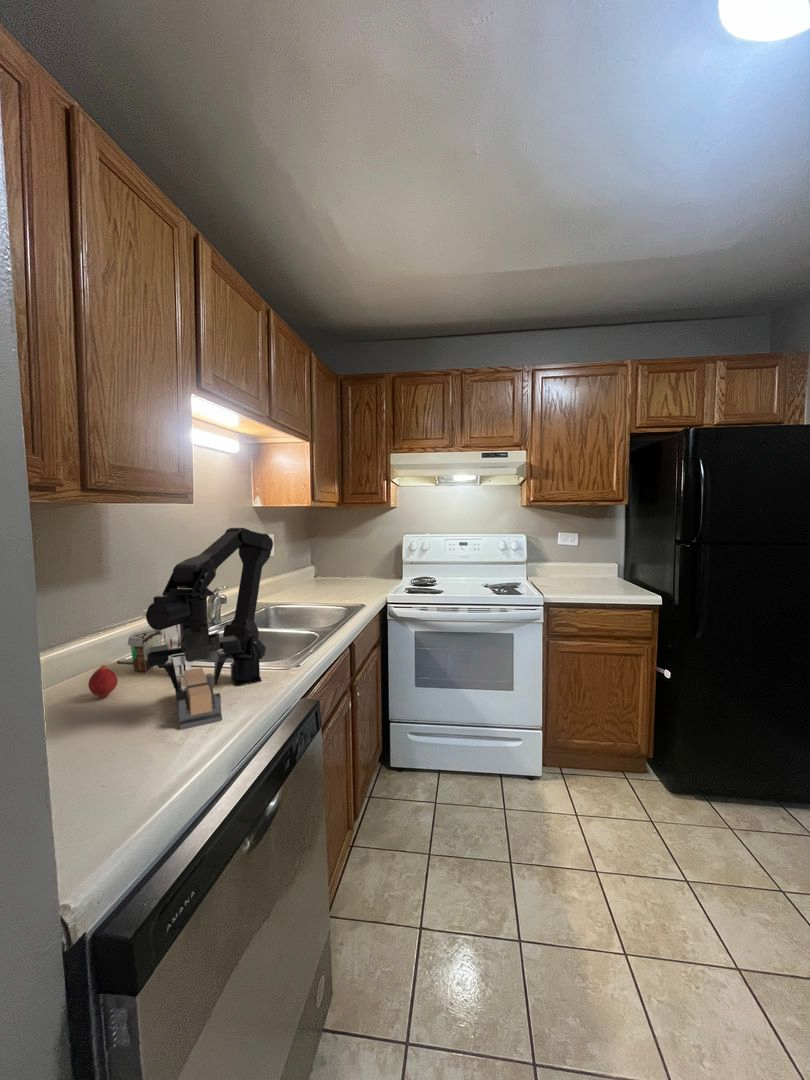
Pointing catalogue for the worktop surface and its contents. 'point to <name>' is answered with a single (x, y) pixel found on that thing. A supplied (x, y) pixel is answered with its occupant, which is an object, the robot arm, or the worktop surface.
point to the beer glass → (174, 642)
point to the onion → (102, 682)
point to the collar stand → (199, 719)
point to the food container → (143, 648)
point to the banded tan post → (197, 691)
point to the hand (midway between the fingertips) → (196, 687)
